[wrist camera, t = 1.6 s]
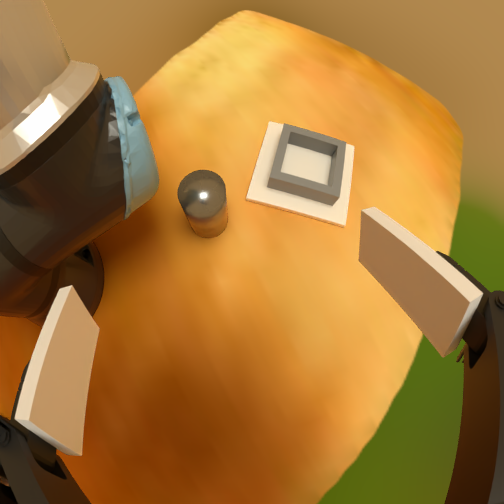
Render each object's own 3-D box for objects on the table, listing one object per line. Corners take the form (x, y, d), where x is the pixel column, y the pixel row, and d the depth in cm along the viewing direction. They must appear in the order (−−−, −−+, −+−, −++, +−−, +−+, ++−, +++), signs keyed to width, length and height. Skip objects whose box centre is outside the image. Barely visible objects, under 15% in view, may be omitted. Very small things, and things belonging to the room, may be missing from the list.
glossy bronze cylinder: (185, 232, 36) (170, 207, 27) (197, 198, 37) (186, 165, 29) (221, 242, 36) (217, 218, 27) (232, 207, 37) (231, 175, 29)
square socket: (246, 200, 38) (247, 188, 34) (268, 124, 41) (271, 108, 37) (343, 227, 38) (353, 218, 34) (352, 149, 41) (361, 136, 37)
